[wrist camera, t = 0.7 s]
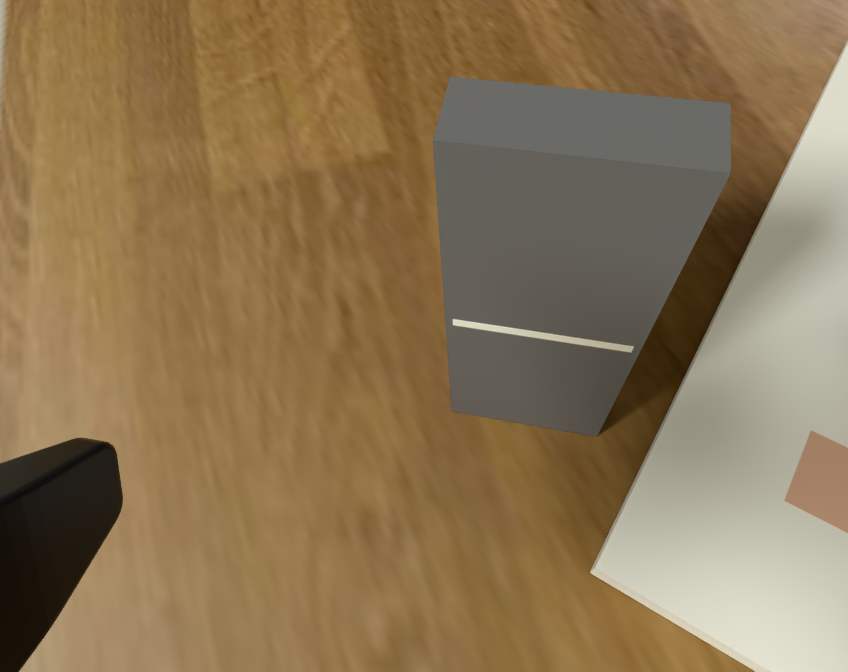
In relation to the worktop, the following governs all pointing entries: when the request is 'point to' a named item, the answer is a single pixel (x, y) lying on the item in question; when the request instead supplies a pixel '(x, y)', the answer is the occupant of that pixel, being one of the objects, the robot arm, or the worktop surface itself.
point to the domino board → (760, 438)
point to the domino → (564, 238)
